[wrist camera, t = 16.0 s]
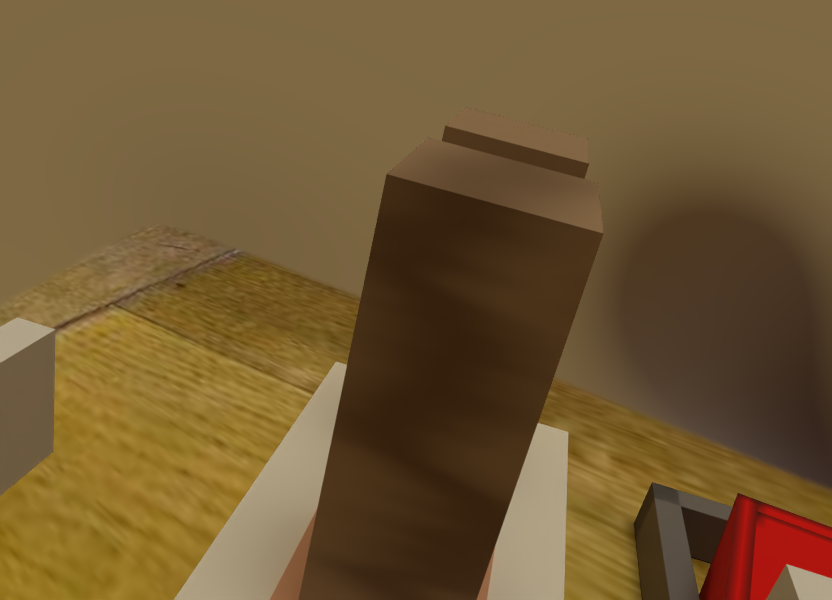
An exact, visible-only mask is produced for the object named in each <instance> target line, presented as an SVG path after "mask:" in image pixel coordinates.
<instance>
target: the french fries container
mask: <svg viewBox="0 0 832 600" xmlns="http://www.w3.org/2000/svg"><path fill="white" fill-rule="evenodd" d="M786 564H788V565H791V566H794V567H797V568H800V569H803V570H807V571H810V572H813V573H816V574H819V575H822V576H825V577H828V578H831V579H832V527H829V526H826V525H824V524H821V523H818V522H815V521H813V520H810V519H807V518H805V517H802V516H799V515H796V514H794V513H791V512H788V511H785V510H783V509H780V508H777V507H774V506H772V505H769V504H766V503H763V502H761V501H758V500H755V499H753V498H750V497H747V496H744V495H742V494H739V493H738V494H737V497H736V500H735V502H734V505H733V508H732V510H731V513H730V515H729V518H728V521H727V523H726V526H725V529H724V531H723V534H722V537H721V539H720V542H719V544H718V547H717V550H716V552H715V555H714V558H713V560H712V563H711V565H710V568H709V571H708V573H707V576H706V579H705V581H704V584H703V586H702V589H701V592H700V594H699V599H700V600H766V599H767V597H768V595H769V594H770V592H771V590H772V588H773V587H774V585H775V583H776V581H777V580H778V578H779V576H780V574H781V573H782V571H783V569H784V567H785V566H786Z"/></svg>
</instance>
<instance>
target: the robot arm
mask: <svg viewBox="0 0 832 600" xmlns="http://www.w3.org/2000/svg"><path fill="white" fill-rule="evenodd" d="M54 376H55V329H52V328H49V327H46V326H43V325H40V324H36V323H33V322H30V321H27V320H24V319H21V318H18V317H17V318H16V319H14V320H12V321H10V322H8V323H6V324H5V325H3V326H1V327H0V496H1V495H2V494H3V493H4V492H5V491H7V490H8V489H9V488H10V487H11V486H13V485H14V484H15V483H16V482H17V481H19V480H20V479H21V478H22V477H23V476H25V475H26V474H27V473H28V472H29V471H31V470H32V469H33V468H34V467H35V466H37V465H38V464H39V463H40V462H41V461H43V460H44V459H45V458H46V457H47V456H49V455H50V454H51V453H52V452H53V435H54ZM766 600H832V579H831V578H828V577H825V576H822V575H819V574H816V573H813V572H810V571H807V570H803V569H800V568H797V567H794V566H791V565H788V564H786V566H785V567H784V569H783V571H782V573H781V574H780V576H779V578H778V580H777V581H776V583H775V585H774V587H773V588H772V590H771V592H770V594H769V595H768V597H767V599H766Z"/></svg>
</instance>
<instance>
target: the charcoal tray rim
mask: <svg viewBox="0 0 832 600" xmlns="http://www.w3.org/2000/svg"><path fill="white" fill-rule="evenodd" d="M732 508H733V507H731V506H728V505H725V504H721V503H718V502H715V501H712V500H708V499H705V498H702V497H699V496H695V495H692V494H689V493H686V492H682V491H679V490H676V489H673V488H669V487H666V486H663V485H660V484H656V483H653V482H652V484H651V486H650V488H649V490H648V493H647V495H646V497H645V499H644V502H643V504H642V506H641V509H640V511H639V513H638V515H637V518H636V520H635V522H634V526H635V536H636V545H637V555H638V564H639V574H640V583H641V593H642V600H700V599H699V594H698V589H697V584H696V579H695V574H694V569H693V564H692V559H691V557H693V558H696V559H699V560H703V561H706V562H709V563H712V560H713V558H714V555H715V552H716V550H717V547H718V544H719V542H720V539H721V537H722V534H723V531H724V529H725V526H726V523H727V521H728V518H729V515H730V513H731V510H732Z"/></svg>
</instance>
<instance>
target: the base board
mask: <svg viewBox="0 0 832 600" xmlns="http://www.w3.org/2000/svg"><path fill="white" fill-rule="evenodd" d="M442 141H444V142H447V143H451V144H455V145H459V146H462V147H466V148H470V149H474V150H477V151H481V152H485V153H488V154H492V155H496V156H500V157H503V158H507V159H511V160H515V161H518V162H522V163H526V164H530V165H533V166H537V167H541V168H545V169H548V170H552V171H556V172H560V173H563V174H567V175H571V176H575V177H578V178H582V179H584V178H585V175H586V172H587V168H588V166H589V153H588V139H587V138H583V137H579V136H575V135H572V134H568V133H564V132H561V131H556V130H553V129H549V128H545V127H541V126H538V125H534V124H530V123H526V122H522V121H518V120H515V119H510V118H507V117H503V116H499V115H496V114H492V113H488V112H484V111H480V110H476V109H472V108H469V107H465V108H464V109H463V110H462V111H461V112H460V113H459V114H458V115H457V116H455V117H454V118H453V119H452V120H451V121H450V122H449V123H448V124H447V125H445V130H444V134H443V138H442ZM346 368H347V365H346V364H342V363H339V362H336V363H335V364H334V366H333V367H332V368H331V370H330V371H329V373H328V374H327V376H326V377H325V379H324V380H323V382H322V383H321V385H320V386H319V388H318V389H317V391H316V392H315V393H314V395H313V396H312V398H311V399H310V401H309V402H308V404H307V405H306V407H305V408H304V410H303V411H302V413H301V414H300V415H299V417H298V418H297V420H296V421H295V423H294V424H293V426H292V427H291V429H290V430H289V432H288V433H287V435H286V436H285V437H284V439H283V440H282V442H281V443H280V445H279V446H278V448H277V449H276V451H275V452H274V454H273V455H272V457H271V458H270V459H269V461H268V462H267V464H266V465H265V467H264V468H263V470H262V471H261V473H260V474H259V476H258V477H257V479H256V480H255V482H254V483H253V484H252V486H251V487H250V489H249V490H248V492H247V493H246V495H245V496H244V498H243V499H242V501H241V502H240V504H239V505H238V506H237V508H236V509H235V511H234V512H233V514H232V515H231V517H230V518H229V520H228V521H227V523H226V524H225V526H224V527H223V528H222V530H221V531H220V533H219V534H218V536H217V537H216V539H215V540H214V542H213V543H212V545H211V546H210V548H209V549H208V551H207V552H206V553H205V555H204V556H203V558H202V559H201V561H200V562H199V564H198V565H197V567H196V568H195V570H194V571H193V573H192V574H191V575H190V577H189V578H188V580H187V581H186V583H185V584H184V586H183V587H182V589H181V590H180V592H179V593H178V595H177V596H176V597H175V599H174V600H298V599H299V594H300V589H301V585H302V580H303V575H304V570H305V565H306V561H307V556H308V551H309V546H310V541H311V536H312V532H313V527H314V522H315V517H316V512H317V508H318V503H319V498H320V493H321V488H322V483H323V479H324V474H325V469H326V464H327V459H328V455H329V450H330V445H331V440H332V435H333V430H334V426H335V421H336V416H337V411H338V406H339V402H340V397H341V392H342V387H343V382H344V377H345V373H346ZM567 461H568V432H566V431H563V430H559V429H556V428H553V427H550V426H546V425H543V424H540V423H538V424H537V427H536V430H535V433H534V435H533V438H532V441H531V444H530V447H529V450H528V453H527V456H526V459H525V461H524V464H523V467H522V470H521V473H520V476H519V479H518V482H517V485H516V487H515V490H514V493H513V496H512V499H511V502H510V505H509V508H508V511H507V513H506V516H505V519H504V522H503V525H502V528H501V531H500V534H499V537H498V539H497V542H496V545H495V548H494V551H493V554H492V557H491V560H490V563H489V565H488V568H487V571H486V574H485V577H484V580H483V583H482V586H481V588H480V591H479V594H478V597H477V600H564V574H565V536H566V499H567Z"/></svg>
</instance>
